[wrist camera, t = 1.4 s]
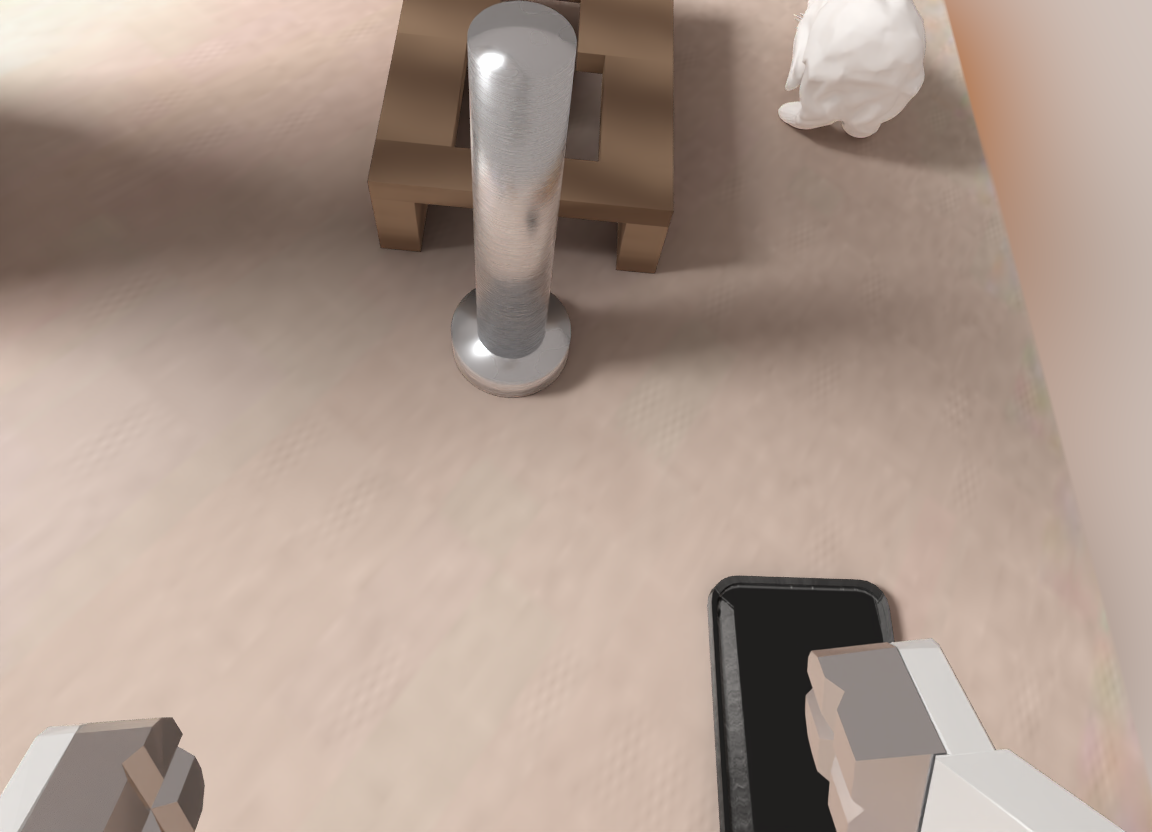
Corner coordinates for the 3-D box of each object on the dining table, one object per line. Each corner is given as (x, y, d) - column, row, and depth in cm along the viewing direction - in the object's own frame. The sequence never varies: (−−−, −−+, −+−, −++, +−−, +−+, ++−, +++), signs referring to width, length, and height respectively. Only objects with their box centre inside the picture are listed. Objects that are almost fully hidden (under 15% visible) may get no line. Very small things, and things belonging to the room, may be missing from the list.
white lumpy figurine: (827, 18, 40) (816, -115, 46) (773, 157, 47) (770, 26, 53) (958, 38, 40) (929, -97, 46) (884, 174, 47) (867, 41, 54)
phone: (734, 993, 30) (710, 574, 36) (726, 987, 31) (704, 580, 37) (949, 992, 30) (888, 580, 37) (934, 986, 31) (877, 586, 38)
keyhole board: (654, 273, 43) (673, 211, 39) (380, 247, 43) (367, 181, 38) (657, 15, 51) (673, -61, 47) (427, -10, 51) (421, -90, 46)
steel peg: (432, 369, 40) (390, 67, 24) (483, 281, 42) (477, -50, 26) (540, 415, 39) (573, 138, 23) (586, 322, 42) (644, 12, 25)
